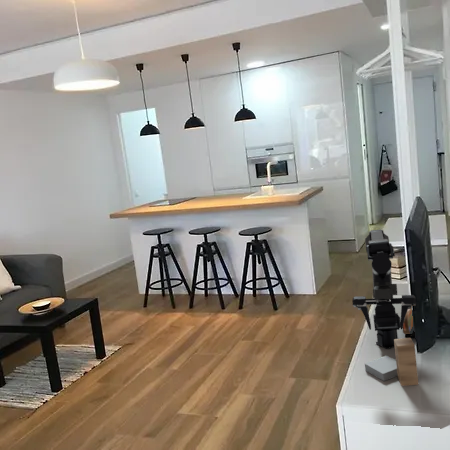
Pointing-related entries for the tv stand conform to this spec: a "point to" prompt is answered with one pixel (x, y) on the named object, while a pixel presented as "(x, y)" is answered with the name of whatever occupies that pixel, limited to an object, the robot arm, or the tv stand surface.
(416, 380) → the walnut block
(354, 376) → the tv stand surface
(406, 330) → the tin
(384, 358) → the grey block
